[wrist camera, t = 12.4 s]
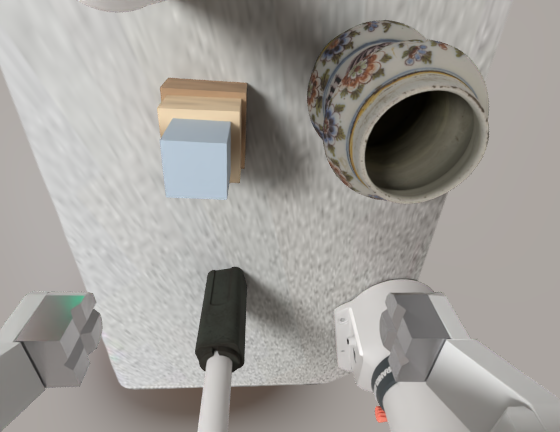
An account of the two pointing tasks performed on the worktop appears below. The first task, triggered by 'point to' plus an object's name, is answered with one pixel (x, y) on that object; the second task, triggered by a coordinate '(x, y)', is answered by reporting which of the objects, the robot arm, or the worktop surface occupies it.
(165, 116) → the top block
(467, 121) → the apothecary jar
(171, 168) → the blue cube
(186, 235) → the worktop surface
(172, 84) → the bottom block
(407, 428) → the robot arm
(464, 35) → the worktop surface
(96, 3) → the water bottle
